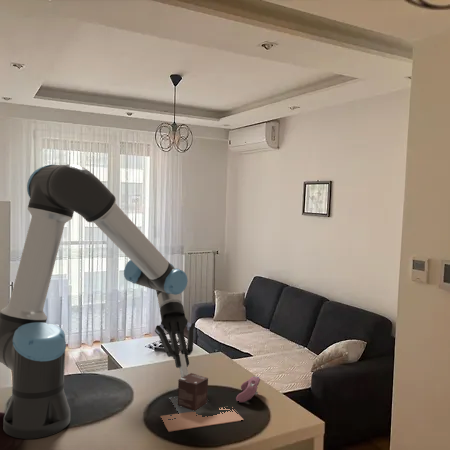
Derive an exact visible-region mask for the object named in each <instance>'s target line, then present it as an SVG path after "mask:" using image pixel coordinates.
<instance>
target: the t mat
mask: <svg viewBox="0 0 450 450" xmlns="http://www.w3.org/2000/svg"><path fill="white" fill-rule="evenodd" d="M172 397H174V398H175V397H176V396H171V397H168V400H169V399H171V398H172ZM176 400H177V399H176ZM176 400H173V401H172V403H175V402H178V400H177V401H176ZM172 403H171V404H172ZM173 405H174V404H172V406H173ZM177 405H178V404H176V407H177V408H178V409H177V408H176V409H175V411H176V412H177V411H178V412H177V413H173V414H164V415H160V416H159V417H160V419H161V418H162V419H161V420H163V421H162V423H163V422H164V423H163V424H164V427H165V428H166V429H167V431H168V433H170V432H174V431H175V432H176V431H181V430H188V429H195V428H202V427H209V426H215V425H222V424H229V423H235V422H241V420H243V421H244V418H243V417H242V416H241V415H240V414H239V413H238V412H237V411H236V410H235V409H234V410H235V411H236V412H237V413H238V414H237V413H236V412H235V411H234V410H233V409H232V411H233V412H232V411H231V410H230V409H226V408H225V407H226V406H224V408H225V409H223V407H218V408H219V410H230V411H231V412H230V411H228V412H227V411H226V412H225V413H224V412H222V413H223V414H222V413H221V412H220V414H217V415H213V416H208V417H207V416H205V417H202V415H198V414H196V412H193V410H191V409H188V408H186V407H180V406H179V405H178V406H177ZM173 407H174V408H175V406H173ZM220 408H221V409H220ZM232 408H234V407H233V406H232ZM178 413H179V414H178ZM170 415H172V416H170ZM196 415H197V416H196ZM174 418H176V419H174ZM168 419H171V420H168ZM172 419H173V420H172Z"/></svg>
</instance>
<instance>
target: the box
mask: <svg viewBox="0 0 450 450" xmlns="http://www.w3.org/2000/svg"><path fill="white" fill-rule="evenodd" d="M177 381H178V385H177V386H178V387H177V390H178V391H177V397H178V405H179V406H182V407H186V408H188V409H191V410H194V411H196V410H197V409H199V408H200V407H202V406H204V405H205V404H207V400H208V395H209V393H208V391H209V377H205V376H202V375H199V374H196V373H192V372H190V373H188V375H186V376H184V377H182V378H181V377H180V378H179V379H178V380H177Z"/></svg>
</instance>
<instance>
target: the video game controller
mask: <svg viewBox="0 0 450 450" xmlns="http://www.w3.org/2000/svg"><path fill="white" fill-rule="evenodd" d="M260 381H261V378H260V377H259V376H255V375H252V376H251V377H250V378H249V379H247V380H245V381H244V382H243V383H242V384H241V385H240V389H241V392H240V393H238V394H237V396H236V397H235V401H236V402H237V401H239V402H238V403H245V402H247V401H250V400H251V399H252V398H253V397H254V396H257V395H258V386H259V384H260Z"/></svg>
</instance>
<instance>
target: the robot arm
mask: <svg viewBox="0 0 450 450" xmlns="http://www.w3.org/2000/svg"><path fill="white" fill-rule="evenodd" d="M26 191H27V195H28V197H29V201H28V205H27V210H28V212H29V213H30V215H31V218H30V222H29V226H28V230H27V234H26V238H25V242H24V245H23V248H22V253H21V257H20V261H19V263H18V268H17V272H16V275H15V279H14V284H13V286H12V287H13V288H12V292H11V296H10V299H9V302H8V305H6V306H5V307H3V308H1V310H0V363H1V364H3V365H4V366H5V367H7V369H10V370H11V371H12V384H11V385H12V387H11V389H12V390H11V396H10V400H9V402H8V405H7V408H6V411H5V413H4V416H3V420H2V421H3V423H2V425H3V427H2V428H3V432H4V433H5V434H6V435H7V436H10V437H12V438H16V439H23V440H25V439H28V440H29V439H40V438H45V437H48V436H49V437H50V436H52V435H54V434H57V433H59V432H61V431H63V430H64V429H66V428H67V427H68V426H69V425H70V423H71V408H70V404H69V401H68V399H67V396H66V393H65V390H64V389H65V369H66V368H65V365H66V363H65V362H66V348H67V342H66V335H65V331H64V330H63V328H61V327H60V326H58V325H56V324H53V323H47V320H48V316H47V315H46V313H45V311H44V309H45V308H44V307H45V303H46V299H47V297H48V296H47V295H48V291H49V287H50V285H51V280H52V276H53V271H54V268H55V264H56V260H57V256H58V252H59V247H60V245H61V240H62V236H63V233H64V228H65V225H66V223H68V222H69V221H71V220H72V219H73V216H74V213H77V214H78V215H80V216H81V217H82V218H83V219H84V220H85V221H86V222H87V223H94V225H95V226H97V228H99V230H101V232H102V233H104V234H105V236H106V237H108V239H109V240H111V242H113V244H115V246H116V247H117V248H118V249H119V250H120V251H121V252H122V253H123V254H124V255H125V256H126V257H127V258H128V259H129V261H127V263H126V265H125V267H124V270H123V275H124V280H126V281H127V282H130V283H132V284H135V285H139V286H142V287H145V288H147V289H151V290H155V291H156V297H157V301H158V307H159V313H160V318H161V321H160V324H158V325H156V326H155V328H154V332H155V334H157V336H158V337H159V339H160V342H161V344H162V346H163V348H164V351H165V353H166V355H167V357H168V358H170V357H171V358H172V359H173V360H174V362H175V363H174V364H175V367H176V368H177V369H179V373H180V374H179V375H180V378H182V377H184V376H186V375H188V374H189V369H188V367H189V365H190V359H189V356H190V355H192V353H193V351H194V329H195V327H196V323H195V322H192V323H191V322H189V321H188V319H187V317H186V313H185V310H184V305H183V299H182V295H181V294H182V293H183V292H184V291H185V290H186V288H187V286H188V281H189V280H188V276H187V274H186V272H185V271H183V270H181V269H180V268H177V267H175V266H174V265H173V264H172V263H171V262H169V261H168V260H167V259H166V257H165V256H164V255H163V254H162V253H161V252H160V250H158V248H157V247H156V246H155V245H154V244H153V243H152V242H151V241H150V240H149V239H148V237H147V236H146V235H145V234H144V233H143V231H141V230H140V229H139V228H138V227H137V225H136V224H135V223H134V222H133V221H132V220H131V219H130V218H129V217H128V215H127V214H126V213H125V212H124V211H123V210H122V208H120V206H119V205H118V204H117V203H116V202H117V199H116V196H115V195H114V193H112V192H111V191H110V189H108V187H107V185H105V184H104V183H103V181H101V180H100V179H99V178H98V177H97V176H96V175H94V173H92V172H91V171H90V170H89V169H86V168H85V167H83V166H81V165H79V164H56V163H55V164H47V165H44V166H41V167H39V168H37V169H36V170H34V171H33V172H32V173H31V174H30V176H29V177H28V181H27V184H26ZM185 328H186V329H187V343H186V338H185ZM165 331H166V332H167V333H168V336H169V339H168V337H167V334H166V332H165ZM169 340H170V341H169ZM178 343H179V345H178ZM179 349H180V350H179ZM180 353H181V354H180Z"/></svg>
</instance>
